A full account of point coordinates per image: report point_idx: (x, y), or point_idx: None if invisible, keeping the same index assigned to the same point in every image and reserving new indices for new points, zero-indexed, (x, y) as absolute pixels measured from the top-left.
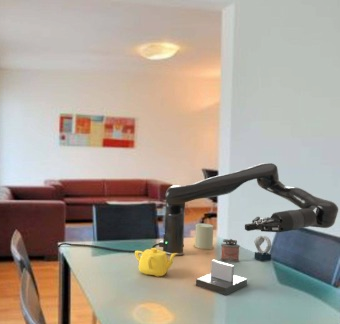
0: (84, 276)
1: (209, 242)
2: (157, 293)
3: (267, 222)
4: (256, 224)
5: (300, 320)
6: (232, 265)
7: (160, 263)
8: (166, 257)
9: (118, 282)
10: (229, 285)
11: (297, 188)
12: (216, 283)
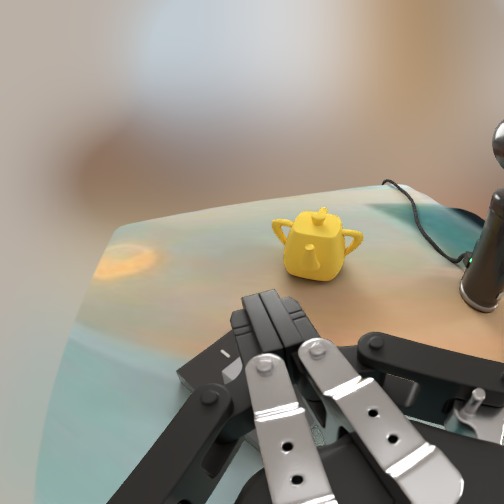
0: (262, 203)
1: None
2: (193, 267)
3: (267, 475)
4: (258, 361)
5: (36, 471)
6: (232, 375)
7: (287, 246)
8: (319, 248)
9: (243, 229)
10: (198, 386)
11: None
12: (214, 358)
